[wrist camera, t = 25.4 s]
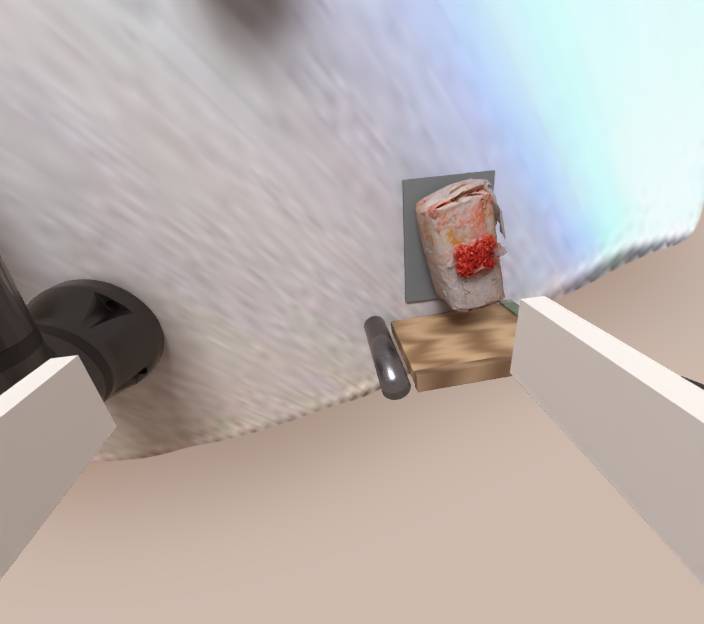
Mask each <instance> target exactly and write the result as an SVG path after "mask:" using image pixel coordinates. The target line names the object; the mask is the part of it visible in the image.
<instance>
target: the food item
mask: <svg viewBox="0 0 704 624" xmlns="http://www.w3.org/2000/svg"><path fill="white" fill-rule="evenodd" d="M491 186H492V185H491V184H490V183H489V181H488V180H486V179H485V180H484V179H472V178H470V179H468V180H463V181H460V182H457V183H453V184H450V185H448V186H446V187H444V188H441V189H439V190H437V191H436V192H434V193H432V194H430V195H428V196H426V197H424V198H423V199H421V200H420V201H419V202H418V203H416V207H415V210H416V218H417V224H418V229H419V233H420V237H421V242H422V246H423V250H424V253H425V256H426V259H427V264H428V268H429V270H430V275H431V279H432V283H433V286H434V289H435V292H436V294H437V296H439V297H440V298H441V299H442V300H443V301H445V302H446V303H447V304H448V305H449V307H451V308H452V309H453V310H456V311H458V312H470V311H471V310H473V309H478V308H484V307H487V306H489V305H492V304H495V303H497V302H499V301H501V300H502V299H504V298H505V295H504V290H503V281H502V273H501V266H500V259H499V257H500V255H504V254H505V253H507V251H506V249H505V247H502V246H501V244H500V243H497V235H496V231H495V226H496V224H497V221H498V222H499V223H500V232H501V233H502V234H503V236H504V239H505V232H504V224H503V218H502V212H501V210H500V208H499V206H498V204H497V201H496V197H495V194H494V193H493V191H492V189H491V188H490V187H491ZM498 246H500V247H498ZM504 252H505V253H504Z"/></svg>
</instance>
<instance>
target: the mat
mask: <svg viewBox="0 0 704 624" xmlns="http://www.w3.org/2000/svg"><path fill="white" fill-rule="evenodd" d="M494 176H495V171H494V170H493V171H484V172H474V173H465V174H456V175H446V176H437V177H428V178H418V179H409V180H403V220H404V262H405V301H406V302H414V301H422V300H430V299H438V298H440V297H439V296H437V294H436V292H435V289H434V286H433V283H432V279H431V275H430V270H429V268H428V264H427V259H426V256H425V253H424V250H423V246H422V242H421V237H420V233H419V229H418V224H417V218H416V210H415V207H416V203H418V202H419V201H420V200H421V199H423V198H424V197H426V196H428V195H430V194H432V193H434V192H436V191H437V190H439V189H441V188H444V187H446V186H448V185H450V184H453V183H457V182H460V181H463V180H468V179H470V178H472V179H484V180H485V179H486V180H488V181H489V183H490V184H491V185H492V186H491V187H490V188H491V189H492V191H493V187H494Z"/></svg>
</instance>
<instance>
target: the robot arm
mask: <svg viewBox="0 0 704 624" xmlns="http://www.w3.org/2000/svg"><path fill="white" fill-rule="evenodd" d="M163 343H164V342H163V334H162V330H161V327H160V325H159V323H158V321H157V319H156V318H155V316H154V315H153V313H152V312H151V311H150V310H149V308H148V307H147V306H146V305H145V304H144V303H143V302H141V301H140V300H139V299H138V298H136V297H135V296H134V295H132V294H131V293H129V292H127V291H125V290H124V289H121V288H119V287H117V286H115V285H112V284H109V283H105V282H101V281H96V280H72V281H67V282H63V283H61V284H58V285H56V286H54V287H52V288H50V289H47V290H45V291H43V292H42V293H40V294H39V295H37V296H36V297H35V298H33V299H32V300H31V301H30V303H29V304H28V305H27V306H26V305H25V303H24V301H23V299H22V297H21V295H20V293H19V291H18V289H17V288H16V286H15V284H14V282H13V280H12V278H11V276H10V274H9V272H8V270H7V268H6V266H5V264H4V262H3V260H2V258H1V256H0V579H1V578H2V577H3V576H4V574H5V573H6V572H7V571H8V569H9V568H10V567H11V565H12V564H13V563H14V561H15V560H16V559H17V557H18V556H19V554H20V553H21V552H22V551H23V549H24V548H25V547H26V546H27V544H28V543H29V542H30V540H31V539H32V538H33V536H34V535H35V534H36V532H37V531H38V530H39V529H40V527H41V526H42V524H43V523H44V522H45V521H46V519H47V518H48V517H49V515H50V514H51V513H52V511H53V510H54V509H55V508H56V506H57V505H58V504H59V502H60V501H61V500H62V498H63V497H64V496H65V494H66V493H67V492H68V490H69V489H70V488H71V487H72V485H73V484H74V483H75V481H76V480H77V479H78V477H79V476H80V475H81V473H82V472H83V471H84V469H85V468H86V467H87V466H88V464H89V463H90V462H91V460H92V459H93V458H94V456H95V455H96V454H97V452H98V451H99V450H100V448H101V447H102V446H103V445H104V443H105V442H106V441H107V439H108V438H109V437H110V435H111V434H112V433H113V431H114V430H115V429H116V427H117V426H116V424H115V422H114V420H113V419H112V417H111V415H110V413H109V411H108V409H107V407H106V406H105V404H104V402H105V401H106V400H107V399H109V398H111V397H112V396H114V395H116V394H118V393H120V392H122V391H124V390H125V389H127V388H129V387H131V386H133V385H135V384H136V383H138V382H140V381H141V380H142V379H144V378H145V377H146V376H147V375H148V374H149V373H150V372H151V370H152V369H153V368H154V367H155V365H156V364H157V363H158V361H159V359H160V357H161V355H162V352H163ZM510 374H511V375H512V376H513V377H514V378H515V379H516V380H517V381H518V382H519V384H520V385H521V386H522V387H523V388H524V389H525V390H526V391H527V392H528V393H529V395H531V397H532V398H533V399H534V400H535V401H536V402H537V403H538V404H539V406H540V407H541V408H542V409H543V410H544V411H545V412H546V413H547V414H548V415H549V416H550V418H551V419H552V420H553V421H554V422H555V423H556V424H557V425H558V426H559V427H560V428H561V430H562V431H563V432H564V433H565V434H566V435H567V436H568V437H569V438H570V439H571V441H572V442H573V443H574V444H575V445H576V446H577V447H578V448H579V449H580V450H581V452H582V453H583V454H584V455H585V456H586V457H587V458H588V459H589V460H590V461H591V463H592V464H593V465H594V466H595V467H596V468H597V469H598V470H599V471H600V473H601V474H602V475H603V476H604V477H605V478H606V479H607V480H608V481H609V482H610V484H611V485H612V486H613V487H614V488H615V489H616V490H617V491H618V492H619V493H620V494H621V495H622V497H623V498H624V499H625V500H626V501H627V502H628V503H629V504H630V505H631V506H632V508H633V509H634V510H635V511H636V512H637V513H638V514H639V515H640V516H641V518H642V519H643V520H644V521H645V522H646V523H647V524H648V525H649V526H650V527H651V529H652V530H653V531H654V532H655V533H656V534H657V535H658V536H659V537H660V538H661V539H662V541H663V542H664V543H665V544H666V545H667V546H668V547H669V548H670V549H671V551H672V552H673V553H674V554H675V555H676V556H677V557H678V558H679V559H680V560H681V561H682V563H683V564H684V565H685V566H686V567H687V568H688V569H689V570H690V571H691V572H692V574H693V575H694V576H695V577H696V578H697V579H698V580H699V581H700V582H701V583H702V585H703V586H704V385H703V384H701V383H698V382H695V381H693V380H690V379H688V378H685V377H683V376H679V375H677V374H676V373H674V372H672V371H670V370H669V369H667V368H665V367H664V366H662V365H660V364H659V363H657V362H655V361H653V360H652V359H650V358H648V357H647V356H645V355H643V354H642V353H640V352H638V351H637V350H635V349H633V348H632V347H630V346H628V345H626V344H625V343H623V342H621V341H620V340H618V339H616V338H615V337H613V336H611V335H610V334H608V333H606V332H604V331H602V330H601V329H599V328H598V327H596V326H594V325H593V324H591V323H589V322H588V321H586V320H584V319H582V318H581V317H579V316H577V315H576V314H574V313H572V312H570V311H569V310H567V309H565V308H564V307H562V306H560V305H559V304H557V303H555V302H554V301H552V300H550V299H549V298H547V297H545V296H541V297H533V298H525V299H520V305H519V312H518V319H517V326H516V333H515V340H514V347H513V354H512V361H511V368H510Z"/></svg>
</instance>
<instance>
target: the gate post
mask: <svg viewBox="0 0 704 624" xmlns="http://www.w3.org/2000/svg"><path fill="white" fill-rule="evenodd" d="M364 328H365V332H366V335H367V339H368V343H369V346H370V350H371V353H372V357H373V361H374V364H375V368H376V371H377V375H378V379H379V382H380V386H381V389H382V392H383V395H384V396H385V397H386V398H389V399H391V400H397V399H401V398H403V397H405V396H406V395H407V394H408V393H409V391H410V387H411V385H410V382H409V379H408V377H407V374H406V372H405V370H404V367H403V365H402V362H401V360H400V358H399V355H398V353H397V350H396V348H395V346H394V343H393V341H392V338H391V336H390V334H389V331H388V329H387V326H386V324H385V322H384V320H383V319H382V318H381V317H378V316H373V317H370V318H369V319H367V320H366V322H365V325H364Z"/></svg>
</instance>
